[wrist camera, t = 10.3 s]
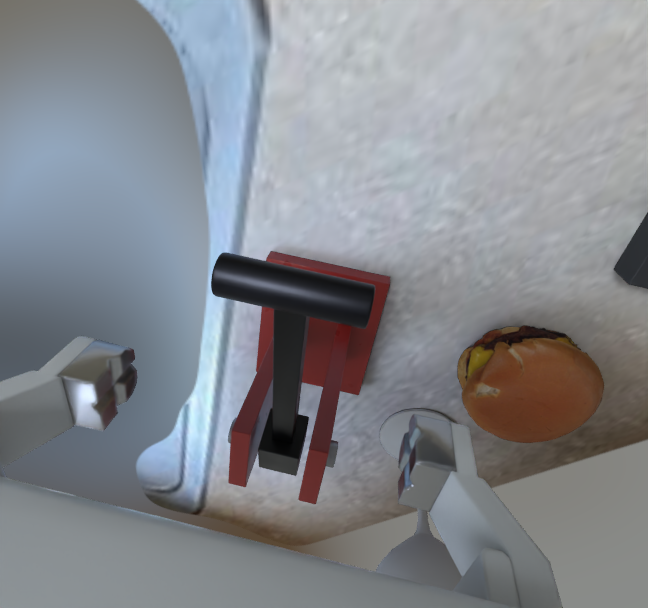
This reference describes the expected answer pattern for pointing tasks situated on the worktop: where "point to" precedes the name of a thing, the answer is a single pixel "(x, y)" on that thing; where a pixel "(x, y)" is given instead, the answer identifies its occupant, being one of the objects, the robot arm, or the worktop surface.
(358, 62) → the worktop surface
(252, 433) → the bracket
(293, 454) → the lever
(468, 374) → the burger
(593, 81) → the worktop surface
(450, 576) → the wineglass
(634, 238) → the button box
